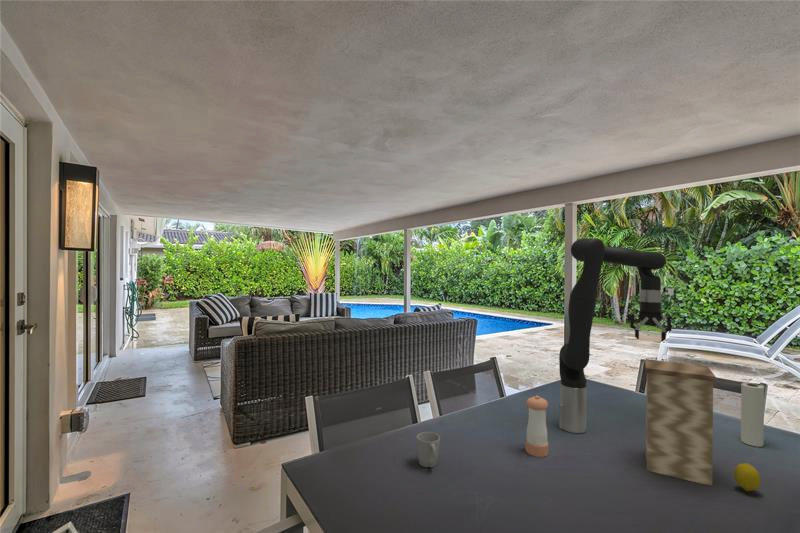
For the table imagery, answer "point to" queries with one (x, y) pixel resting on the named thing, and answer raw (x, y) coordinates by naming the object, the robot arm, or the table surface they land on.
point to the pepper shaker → (537, 427)
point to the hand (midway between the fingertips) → (650, 340)
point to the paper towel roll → (752, 414)
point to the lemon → (747, 477)
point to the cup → (428, 448)
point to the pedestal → (679, 420)
